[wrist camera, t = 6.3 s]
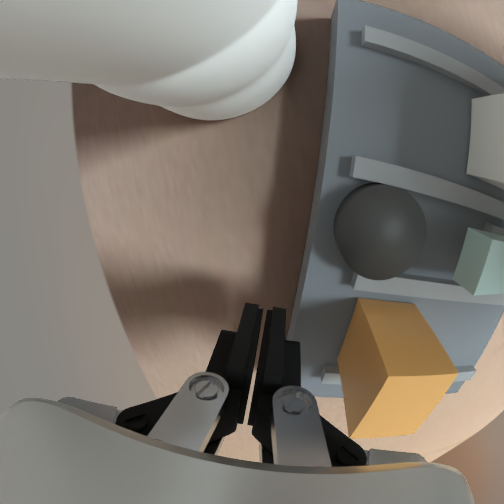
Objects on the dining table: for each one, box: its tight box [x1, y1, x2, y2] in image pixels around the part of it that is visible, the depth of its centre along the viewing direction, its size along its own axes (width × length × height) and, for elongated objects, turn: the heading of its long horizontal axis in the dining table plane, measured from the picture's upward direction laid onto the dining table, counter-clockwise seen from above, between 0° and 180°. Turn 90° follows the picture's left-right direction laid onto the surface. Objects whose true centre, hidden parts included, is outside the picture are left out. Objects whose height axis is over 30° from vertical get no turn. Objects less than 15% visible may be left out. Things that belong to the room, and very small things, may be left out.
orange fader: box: [337, 298, 459, 439], centre depth 10 cm, size 3×4×5 cm
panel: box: [286, 0, 504, 398], centre depth 11 cm, size 13×20×4 cm, turn 174°
